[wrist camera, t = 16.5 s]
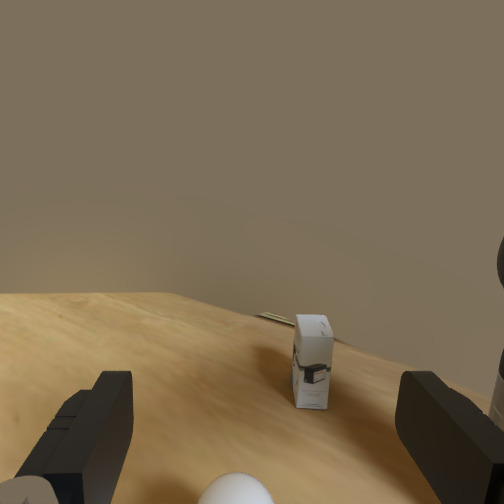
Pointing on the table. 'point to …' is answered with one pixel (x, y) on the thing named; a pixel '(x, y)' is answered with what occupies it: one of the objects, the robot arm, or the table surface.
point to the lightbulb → (235, 490)
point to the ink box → (311, 361)
